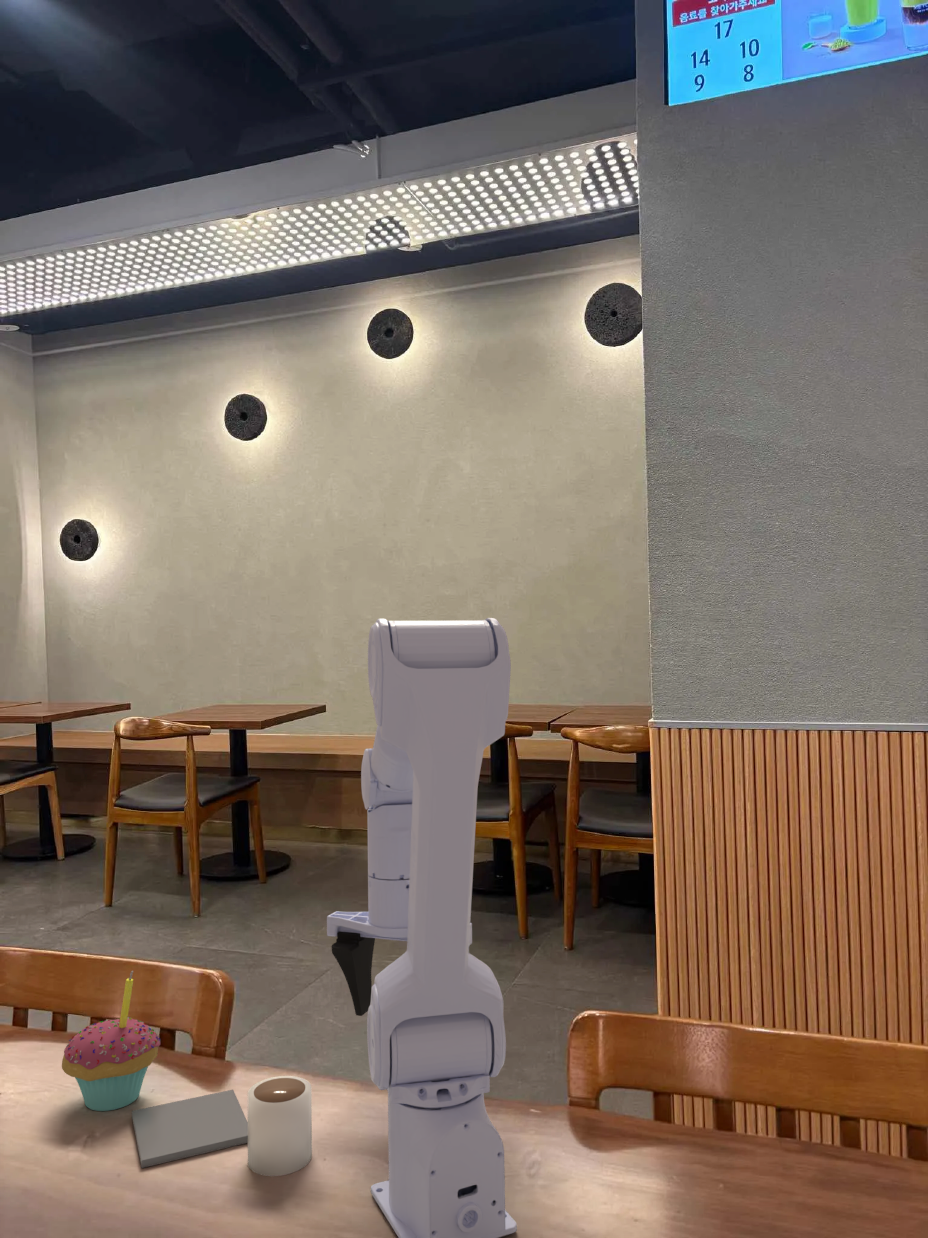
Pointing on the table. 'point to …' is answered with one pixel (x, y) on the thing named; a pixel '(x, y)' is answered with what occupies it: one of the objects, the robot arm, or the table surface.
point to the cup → (279, 1125)
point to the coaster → (189, 1127)
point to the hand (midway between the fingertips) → (399, 1016)
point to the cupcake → (111, 1058)
